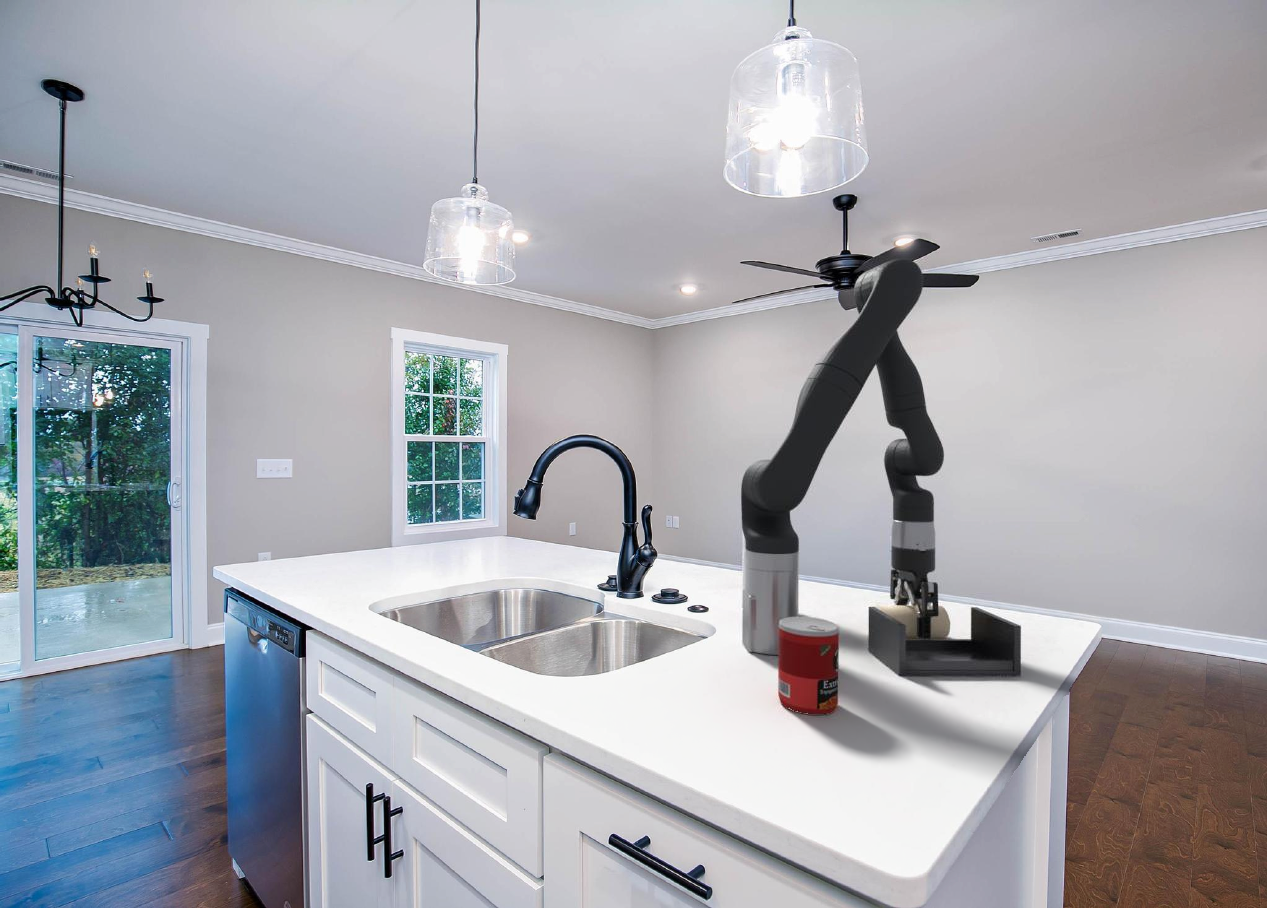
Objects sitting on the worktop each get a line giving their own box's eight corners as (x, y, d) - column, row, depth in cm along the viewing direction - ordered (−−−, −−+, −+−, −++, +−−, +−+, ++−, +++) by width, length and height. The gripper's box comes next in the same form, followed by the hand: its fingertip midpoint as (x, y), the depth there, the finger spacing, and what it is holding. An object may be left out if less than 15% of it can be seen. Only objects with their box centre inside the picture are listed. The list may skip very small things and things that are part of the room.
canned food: (830, 721, 79) (830, 634, 79) (769, 707, 83) (770, 625, 83) (844, 701, 85) (845, 621, 85) (787, 689, 89) (788, 613, 89)
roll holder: (899, 676, 95) (899, 625, 95) (868, 651, 107) (868, 606, 107) (1020, 676, 96) (1020, 626, 96) (976, 652, 108) (976, 607, 108)
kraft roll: (881, 638, 113) (878, 605, 114) (868, 637, 118) (865, 605, 120) (957, 639, 113) (953, 605, 114) (940, 638, 119) (937, 606, 120)
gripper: (877, 539, 123) (877, 621, 123) (910, 550, 108) (910, 642, 108) (915, 539, 123) (914, 621, 123) (953, 550, 109) (952, 642, 108)
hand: (912, 631), depth 116 cm, fingers open, 8 cm apart
